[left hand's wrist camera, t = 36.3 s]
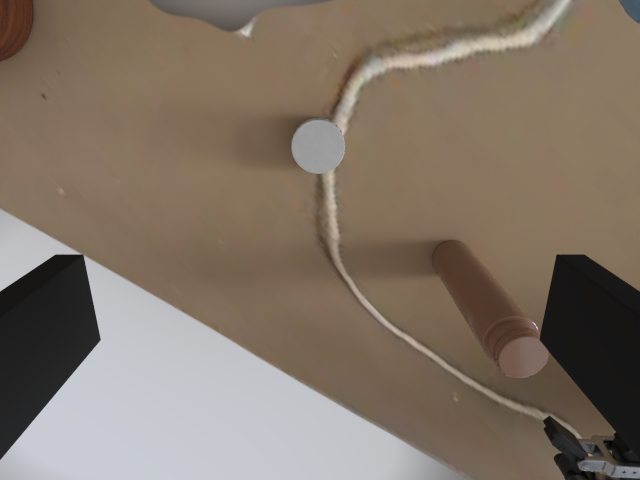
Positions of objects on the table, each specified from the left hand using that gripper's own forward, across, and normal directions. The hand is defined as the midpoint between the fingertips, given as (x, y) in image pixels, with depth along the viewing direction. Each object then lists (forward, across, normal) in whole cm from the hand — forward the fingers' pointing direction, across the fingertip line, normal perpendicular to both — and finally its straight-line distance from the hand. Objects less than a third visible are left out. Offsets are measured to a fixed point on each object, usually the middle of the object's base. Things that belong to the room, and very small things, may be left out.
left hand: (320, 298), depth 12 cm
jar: (+32, +14, -12) cm, 38 cm away
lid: (+30, 0, 0) cm, 31 cm away
